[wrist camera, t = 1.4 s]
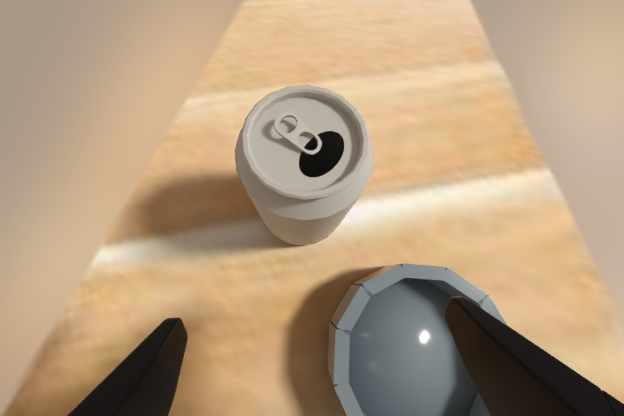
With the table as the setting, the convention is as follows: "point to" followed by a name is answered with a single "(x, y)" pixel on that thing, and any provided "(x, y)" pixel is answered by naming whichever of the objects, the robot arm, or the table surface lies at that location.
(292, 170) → the can
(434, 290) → the bowl
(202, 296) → the table surface
